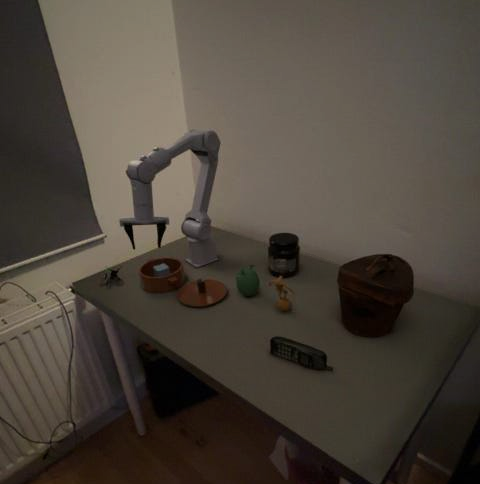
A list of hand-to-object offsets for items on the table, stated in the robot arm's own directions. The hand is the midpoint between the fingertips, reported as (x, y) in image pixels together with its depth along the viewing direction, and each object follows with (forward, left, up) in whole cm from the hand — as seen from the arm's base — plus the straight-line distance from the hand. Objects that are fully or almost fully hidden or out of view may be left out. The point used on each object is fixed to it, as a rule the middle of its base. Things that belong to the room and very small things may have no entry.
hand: (146, 247), depth 109 cm
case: (-36, +57, -14) cm, 69 cm away
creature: (+11, -11, -14) cm, 20 cm away
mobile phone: (-12, +57, -14) cm, 60 cm away
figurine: (-22, +39, -14) cm, 47 cm away
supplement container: (-38, +21, -14) cm, 46 cm away
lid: (-9, +16, -13) cm, 23 cm away
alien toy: (-20, +25, -14) cm, 35 cm away
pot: (-3, 0, -13) cm, 14 cm away
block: (-3, 0, -13) cm, 13 cm away
